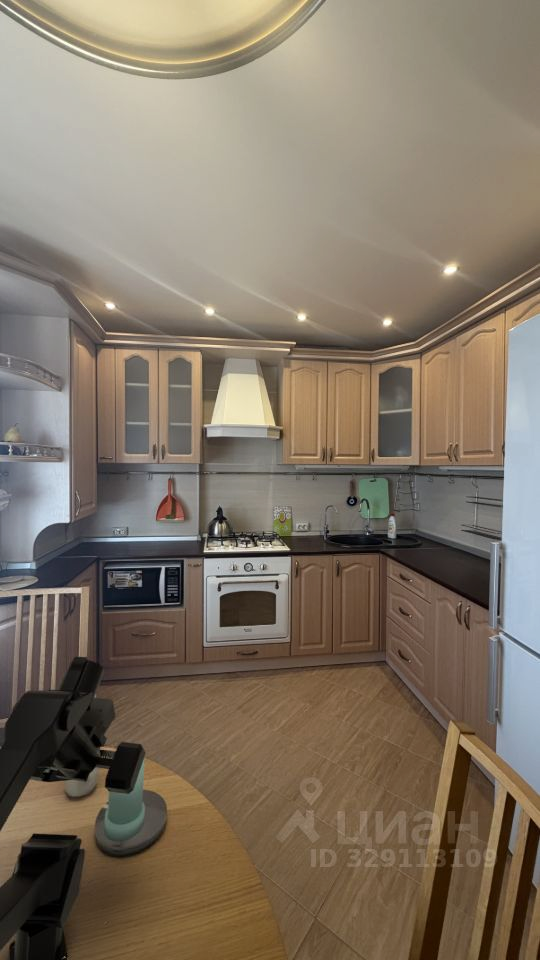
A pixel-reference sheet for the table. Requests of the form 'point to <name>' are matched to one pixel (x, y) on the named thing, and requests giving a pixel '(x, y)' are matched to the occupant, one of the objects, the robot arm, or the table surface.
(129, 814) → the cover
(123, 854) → the base
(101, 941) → the table surface
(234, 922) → the table surface
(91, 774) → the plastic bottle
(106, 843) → the turntable
